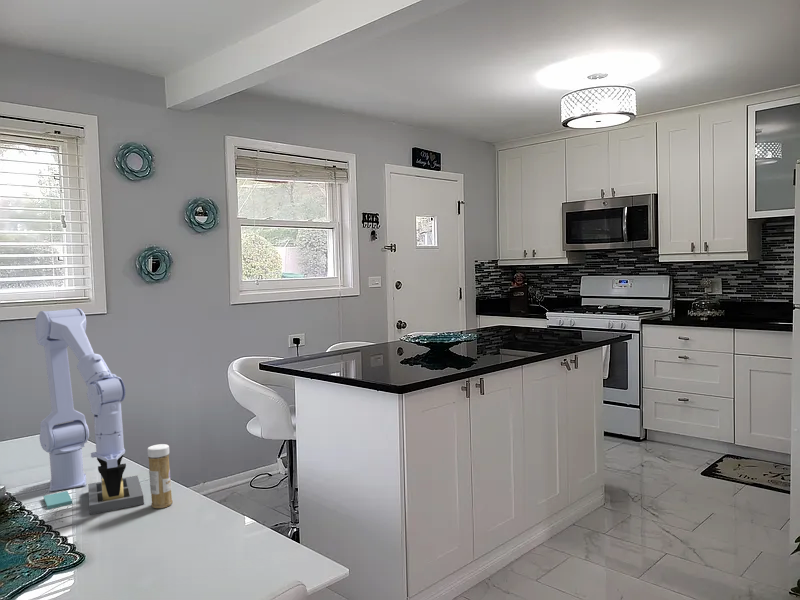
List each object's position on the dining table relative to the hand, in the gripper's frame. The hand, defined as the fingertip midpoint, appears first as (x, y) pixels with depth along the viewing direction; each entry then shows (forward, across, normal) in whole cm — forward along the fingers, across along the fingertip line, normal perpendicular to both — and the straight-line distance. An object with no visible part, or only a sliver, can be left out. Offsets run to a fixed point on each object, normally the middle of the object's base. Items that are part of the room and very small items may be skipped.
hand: (113, 490), depth 145 cm
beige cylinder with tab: (+3, 0, 0) cm, 3 cm away
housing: (+3, -4, 0) cm, 5 cm away
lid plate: (+3, -9, -12) cm, 15 cm away
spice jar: (+3, +7, +10) cm, 12 cm away
